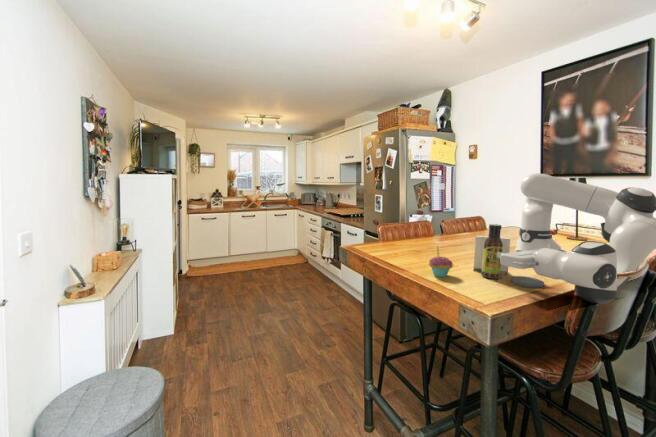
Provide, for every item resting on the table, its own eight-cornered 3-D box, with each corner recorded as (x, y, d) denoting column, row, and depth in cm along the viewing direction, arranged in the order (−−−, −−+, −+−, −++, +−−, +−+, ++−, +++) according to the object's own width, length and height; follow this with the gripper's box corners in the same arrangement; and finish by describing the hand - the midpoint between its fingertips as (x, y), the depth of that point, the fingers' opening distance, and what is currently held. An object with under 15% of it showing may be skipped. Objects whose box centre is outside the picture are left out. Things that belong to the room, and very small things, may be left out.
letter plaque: (473, 271, 128) (475, 236, 126) (473, 268, 132) (475, 234, 130) (507, 275, 123) (510, 239, 121) (506, 272, 127) (509, 237, 125)
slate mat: (523, 277, 120) (523, 274, 120) (550, 285, 111) (550, 283, 110) (504, 280, 116) (504, 277, 116) (530, 289, 107) (531, 286, 107)
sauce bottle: (484, 279, 118) (487, 225, 115) (479, 274, 124) (482, 223, 121) (502, 280, 117) (506, 226, 114) (496, 275, 123) (500, 223, 120)
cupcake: (439, 279, 117) (440, 247, 115) (423, 273, 125) (424, 243, 123) (456, 276, 120) (458, 245, 119) (440, 270, 128) (442, 241, 127)
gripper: (523, 276, 96) (485, 265, 109) (567, 269, 104) (527, 259, 117) (525, 255, 96) (486, 246, 108) (569, 250, 103) (528, 242, 116)
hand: (508, 253), depth 113 cm, fingers open, 8 cm apart
